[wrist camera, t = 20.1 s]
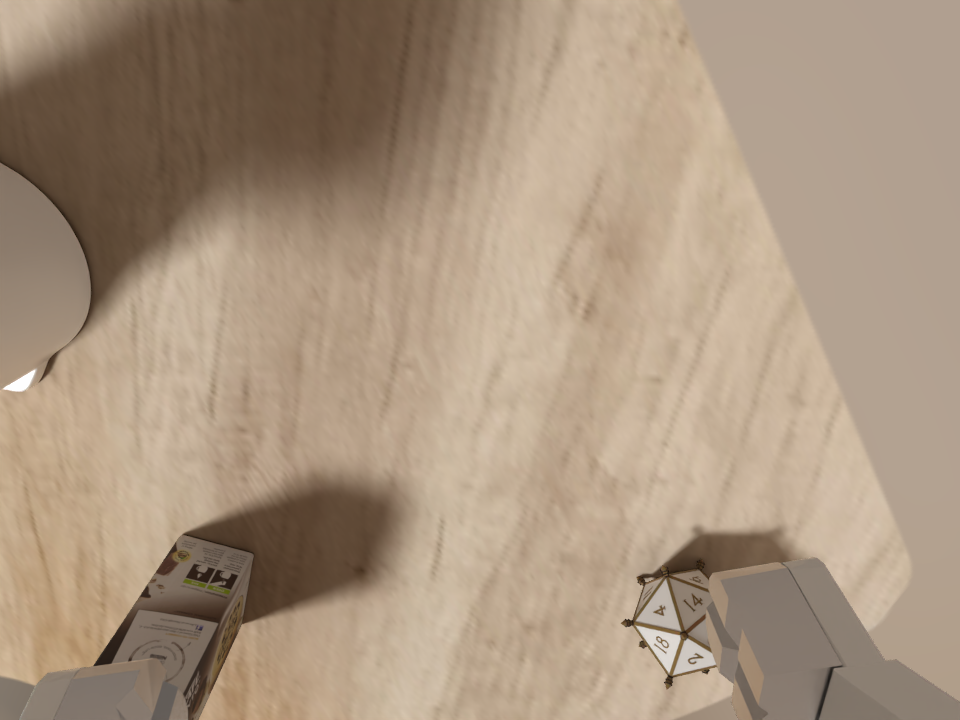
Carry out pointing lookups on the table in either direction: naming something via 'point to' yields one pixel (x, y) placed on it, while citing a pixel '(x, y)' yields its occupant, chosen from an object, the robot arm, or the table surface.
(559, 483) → the table surface
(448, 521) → the table surface
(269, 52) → the table surface
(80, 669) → the robot arm
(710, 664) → the game die
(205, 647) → the coffee box
